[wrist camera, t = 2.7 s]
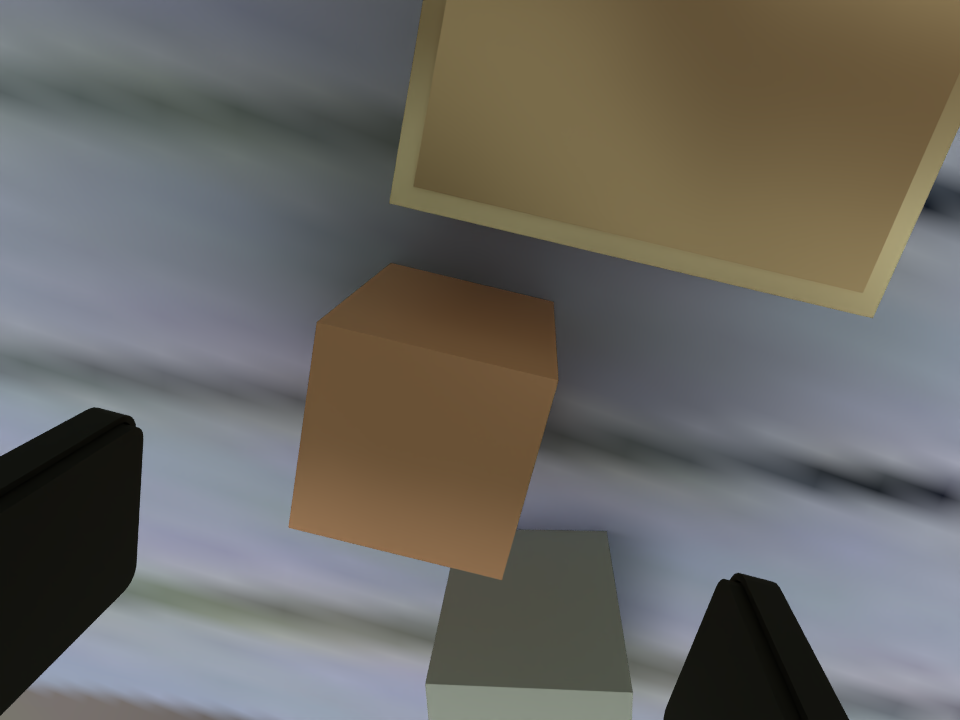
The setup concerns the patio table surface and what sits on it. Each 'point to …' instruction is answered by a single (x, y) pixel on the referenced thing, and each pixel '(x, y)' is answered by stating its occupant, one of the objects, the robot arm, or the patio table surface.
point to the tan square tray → (690, 132)
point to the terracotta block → (425, 418)
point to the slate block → (533, 636)
